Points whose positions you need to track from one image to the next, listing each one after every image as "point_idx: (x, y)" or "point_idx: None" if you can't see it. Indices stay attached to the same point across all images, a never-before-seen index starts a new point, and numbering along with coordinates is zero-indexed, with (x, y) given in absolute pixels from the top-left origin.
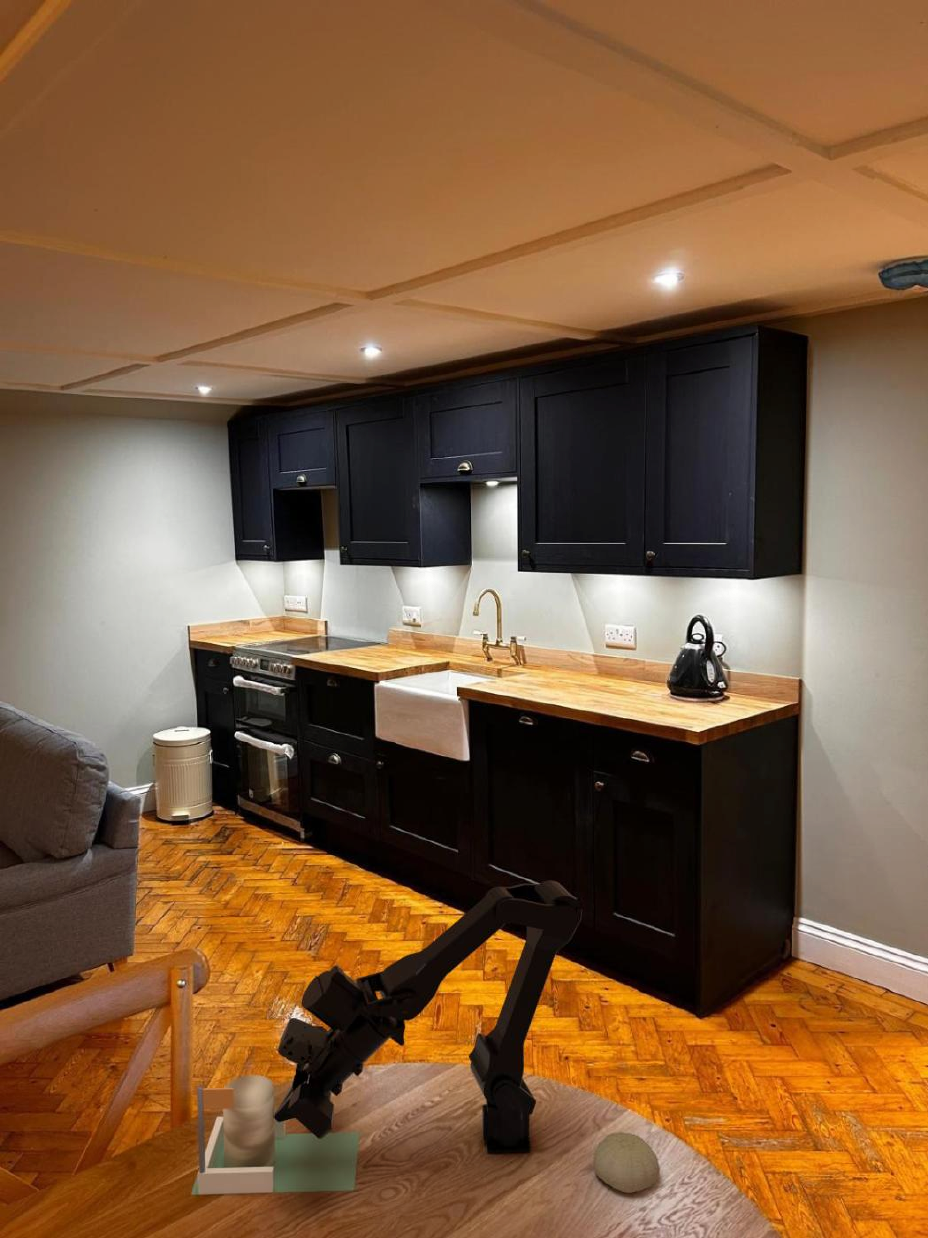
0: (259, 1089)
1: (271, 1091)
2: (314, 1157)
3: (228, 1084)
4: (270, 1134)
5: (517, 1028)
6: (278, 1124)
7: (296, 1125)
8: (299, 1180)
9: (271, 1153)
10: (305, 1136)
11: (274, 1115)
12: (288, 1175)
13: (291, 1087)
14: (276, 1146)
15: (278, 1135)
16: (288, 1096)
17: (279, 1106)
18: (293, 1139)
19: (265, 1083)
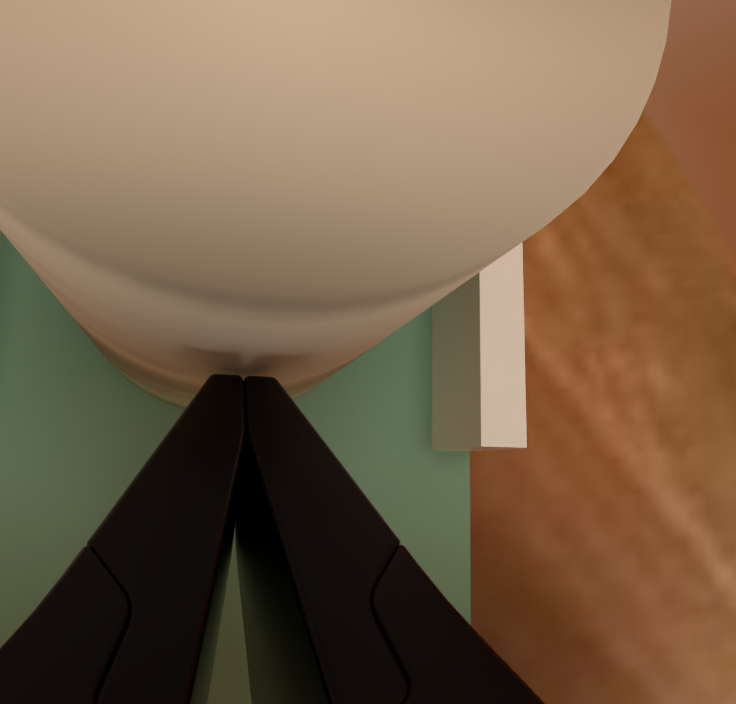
0: (289, 38)
1: (208, 256)
2: (244, 673)
3: None
4: (139, 363)
5: None
6: (466, 406)
7: (574, 498)
8: (15, 604)
9: (161, 391)
10: (443, 580)
11: (233, 376)
12: (80, 520)
13: (417, 619)
14: (362, 409)
15: (439, 412)
16: (200, 590)
17: (294, 423)
18: (421, 506)
19: (462, 139)
